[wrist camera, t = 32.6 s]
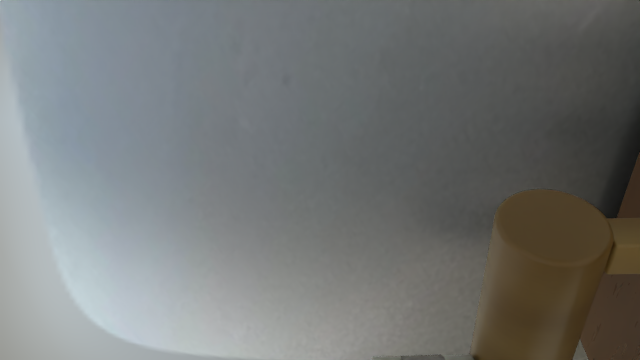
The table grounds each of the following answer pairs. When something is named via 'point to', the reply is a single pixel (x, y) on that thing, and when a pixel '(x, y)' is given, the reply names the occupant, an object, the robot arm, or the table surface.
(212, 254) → the table surface
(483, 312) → the drawer
